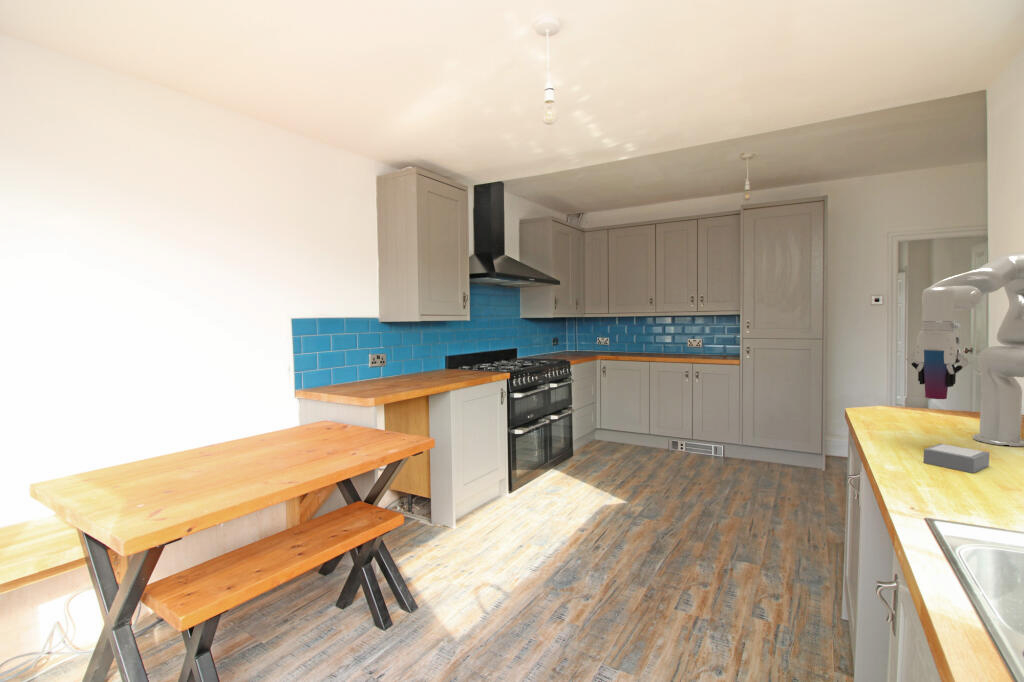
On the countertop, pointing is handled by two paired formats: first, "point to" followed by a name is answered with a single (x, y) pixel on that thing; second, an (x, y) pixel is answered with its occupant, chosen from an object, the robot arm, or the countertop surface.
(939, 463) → the riser
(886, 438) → the countertop surface
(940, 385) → the cup
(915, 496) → the countertop surface
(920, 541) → the countertop surface
